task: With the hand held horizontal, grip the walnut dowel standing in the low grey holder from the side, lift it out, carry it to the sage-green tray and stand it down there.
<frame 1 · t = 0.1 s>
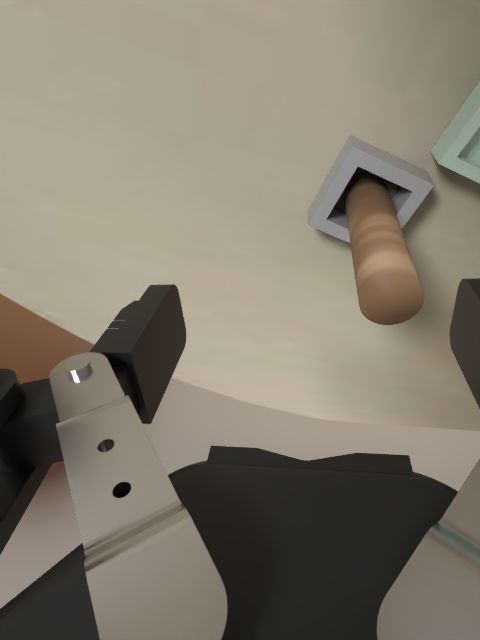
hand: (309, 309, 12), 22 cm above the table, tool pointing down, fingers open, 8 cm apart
dowel: (375, 236, 27), in the holder
holder: (364, 192, 32), on the table
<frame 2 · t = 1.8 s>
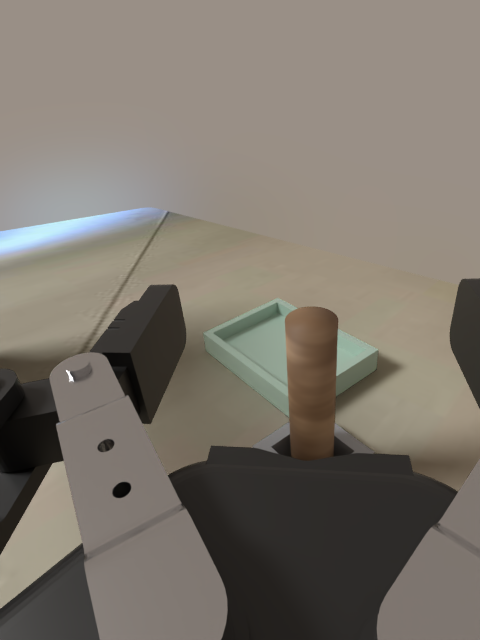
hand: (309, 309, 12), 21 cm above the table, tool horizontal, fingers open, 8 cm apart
tray: (285, 359, 45), on the table
dowel: (311, 404, 29), in the holder
holder: (312, 470, 33), on the table
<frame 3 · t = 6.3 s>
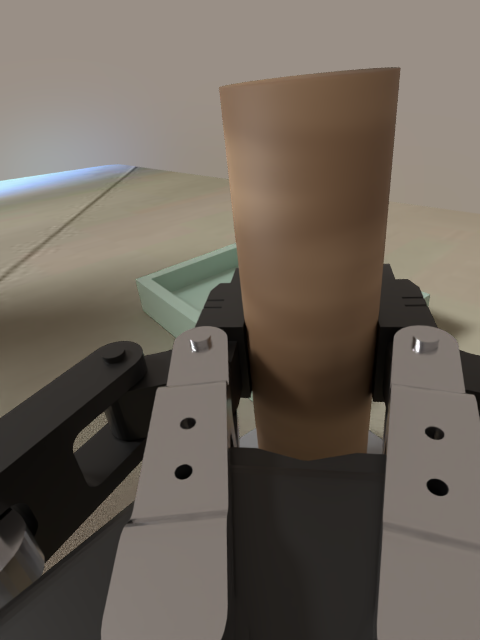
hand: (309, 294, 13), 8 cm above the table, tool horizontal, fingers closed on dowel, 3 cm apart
tray: (269, 320, 27), on the table
dowel: (310, 377, 11), in the holder, touching gripper
holder: (313, 530, 15), on the table
when the fingers open (10 cm above the table, at t = 10.8 s): dowel drops 1 cm, resting on tray.
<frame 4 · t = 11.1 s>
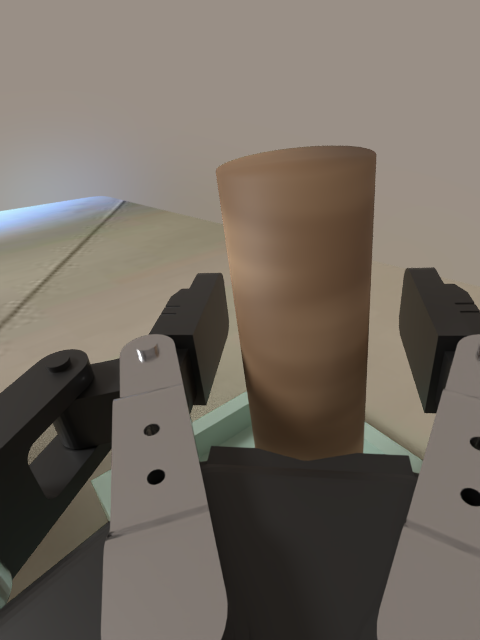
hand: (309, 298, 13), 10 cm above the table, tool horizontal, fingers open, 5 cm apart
tray: (312, 568, 16), on the table
dowel: (306, 415, 12), in the tray, point 8 cm above the table
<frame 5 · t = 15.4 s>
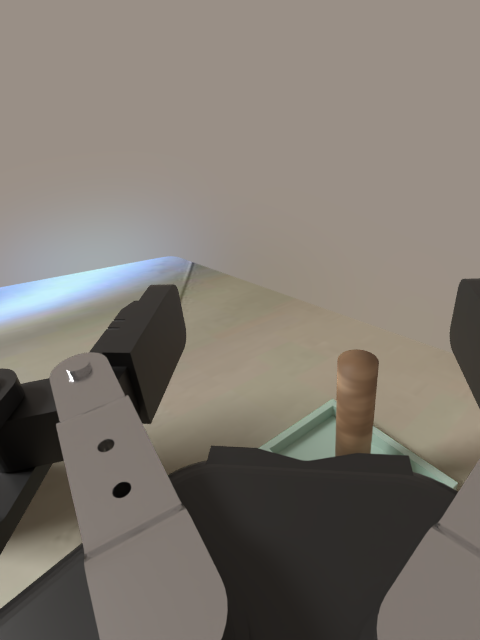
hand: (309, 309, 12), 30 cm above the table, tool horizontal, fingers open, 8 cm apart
tray: (350, 481, 42), on the table
dowel: (354, 423, 37), in the tray, point 8 cm above the table
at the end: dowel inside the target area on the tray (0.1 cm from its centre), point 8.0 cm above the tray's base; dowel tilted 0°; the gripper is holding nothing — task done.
